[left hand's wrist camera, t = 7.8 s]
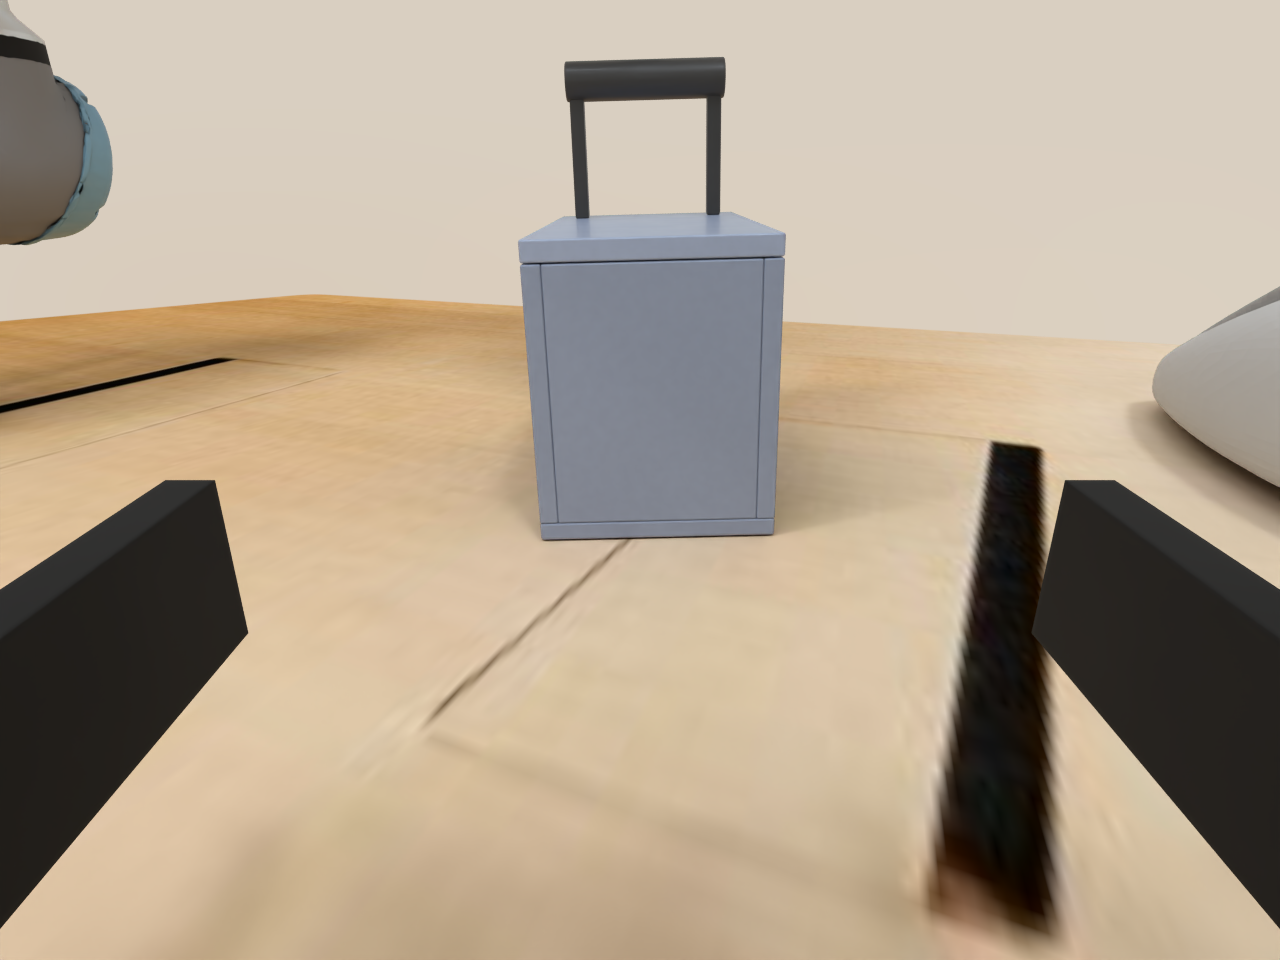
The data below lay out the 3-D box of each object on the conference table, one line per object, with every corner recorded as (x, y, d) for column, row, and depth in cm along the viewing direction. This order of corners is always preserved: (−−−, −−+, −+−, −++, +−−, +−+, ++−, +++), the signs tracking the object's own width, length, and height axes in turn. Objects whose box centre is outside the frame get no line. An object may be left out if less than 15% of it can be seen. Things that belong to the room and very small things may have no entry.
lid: (563, 231, 45) (553, 69, 42) (732, 227, 45) (734, 63, 42) (519, 263, 29) (498, 0, 26) (785, 256, 28) (795, -9, 25)
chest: (573, 420, 49) (562, 232, 45) (729, 416, 49) (732, 228, 45) (541, 540, 33) (519, 264, 29) (774, 535, 33) (785, 257, 28)
